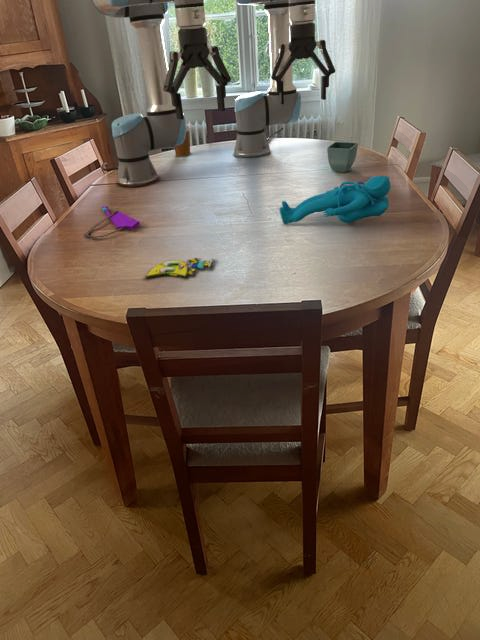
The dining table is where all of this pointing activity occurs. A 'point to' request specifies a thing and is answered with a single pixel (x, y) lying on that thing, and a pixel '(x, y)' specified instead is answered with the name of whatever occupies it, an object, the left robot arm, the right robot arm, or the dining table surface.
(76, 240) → the dining table surface
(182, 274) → the toy
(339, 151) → the green square planter
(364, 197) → the toy
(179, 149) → the beer glass
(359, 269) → the dining table surface
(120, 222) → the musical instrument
